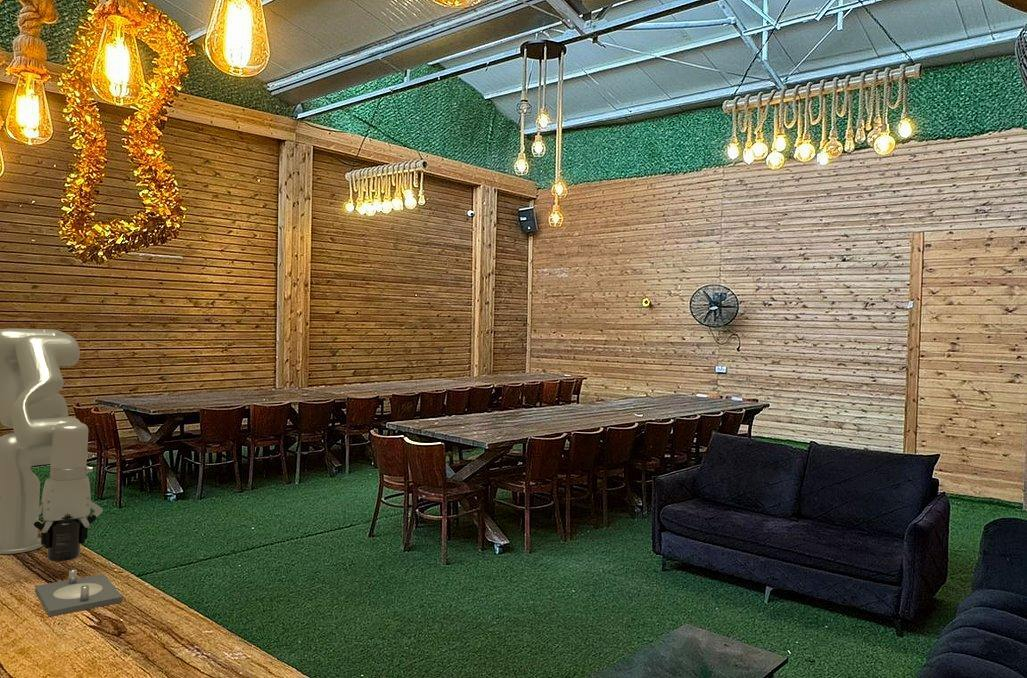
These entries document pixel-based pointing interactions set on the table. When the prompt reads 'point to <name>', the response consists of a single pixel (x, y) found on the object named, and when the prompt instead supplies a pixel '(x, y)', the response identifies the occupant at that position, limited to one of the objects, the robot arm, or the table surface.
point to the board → (77, 594)
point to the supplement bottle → (64, 539)
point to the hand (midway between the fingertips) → (64, 544)
